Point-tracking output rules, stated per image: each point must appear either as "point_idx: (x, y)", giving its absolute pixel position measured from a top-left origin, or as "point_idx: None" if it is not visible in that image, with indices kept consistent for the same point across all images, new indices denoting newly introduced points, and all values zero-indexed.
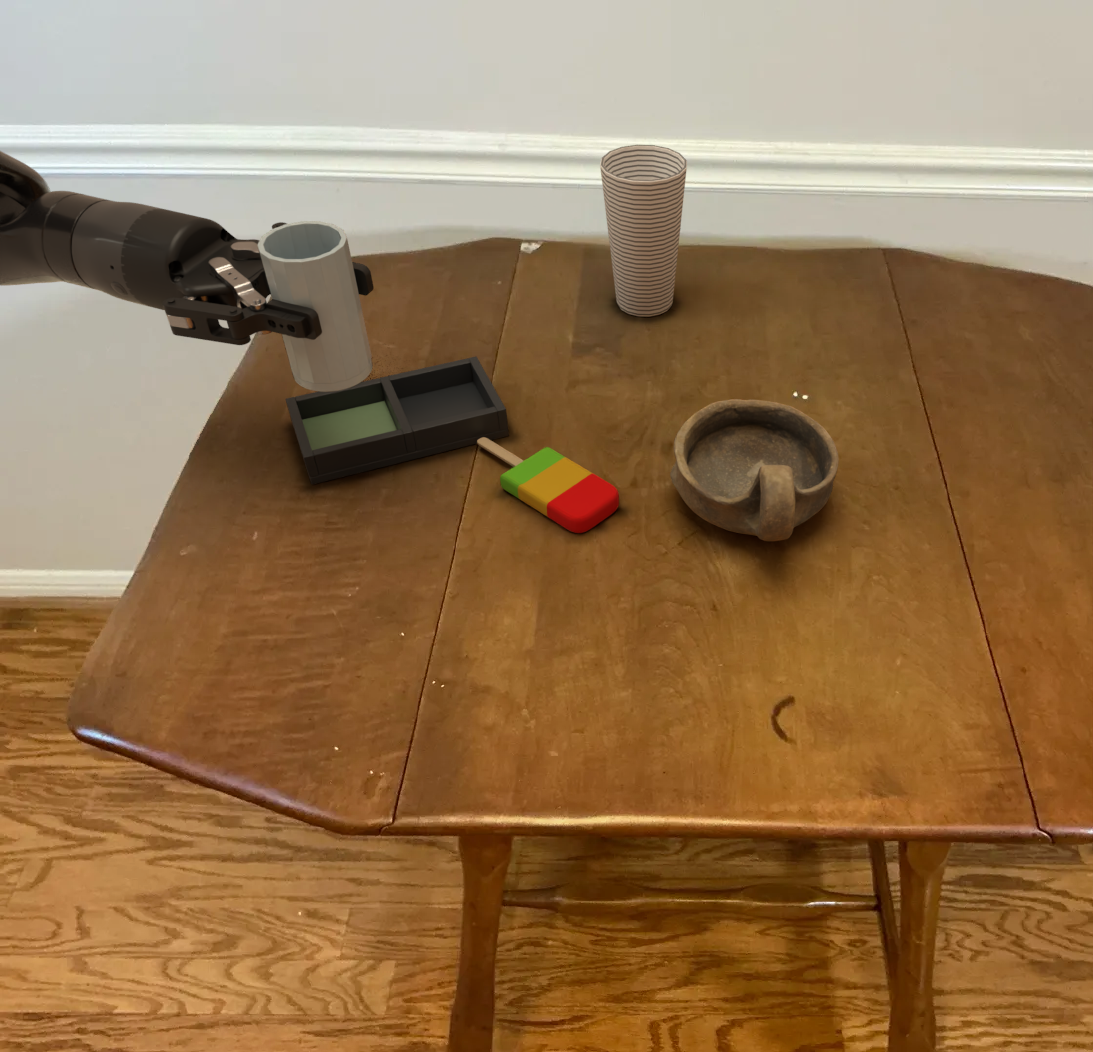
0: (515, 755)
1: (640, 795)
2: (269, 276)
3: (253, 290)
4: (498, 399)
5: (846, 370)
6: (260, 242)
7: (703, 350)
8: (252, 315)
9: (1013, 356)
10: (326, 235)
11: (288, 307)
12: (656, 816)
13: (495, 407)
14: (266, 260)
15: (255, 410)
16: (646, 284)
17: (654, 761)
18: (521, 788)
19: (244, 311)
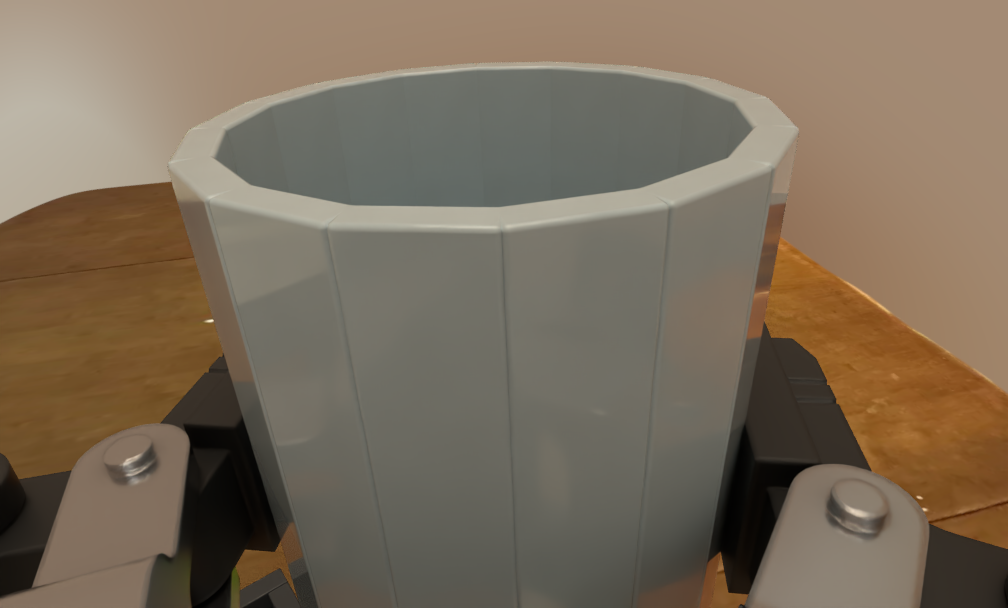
0: (930, 401)
1: (872, 318)
2: (757, 320)
3: (760, 604)
4: (240, 593)
5: (165, 294)
6: (625, 198)
7: (60, 412)
8: (949, 532)
9: (170, 218)
10: (265, 187)
11: (768, 371)
12: (881, 307)
13: (271, 590)
14: (785, 179)
15: None
16: None
17: (830, 318)
18: (959, 386)
19: (967, 600)
